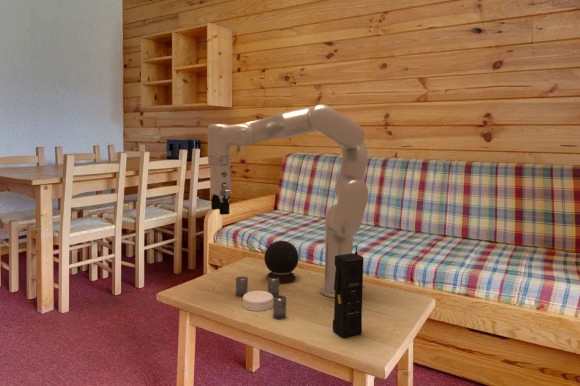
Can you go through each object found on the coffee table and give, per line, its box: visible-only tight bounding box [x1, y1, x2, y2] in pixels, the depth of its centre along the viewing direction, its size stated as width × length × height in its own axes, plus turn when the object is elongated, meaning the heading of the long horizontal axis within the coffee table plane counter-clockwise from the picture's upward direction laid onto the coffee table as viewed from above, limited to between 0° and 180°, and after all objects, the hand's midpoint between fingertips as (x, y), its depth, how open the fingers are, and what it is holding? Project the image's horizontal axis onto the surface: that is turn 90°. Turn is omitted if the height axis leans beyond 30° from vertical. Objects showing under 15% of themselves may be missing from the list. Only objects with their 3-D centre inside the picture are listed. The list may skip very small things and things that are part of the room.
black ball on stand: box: [264, 240, 300, 285], centre depth 173 cm, size 13×13×15 cm
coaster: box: [242, 290, 274, 312], centre depth 148 cm, size 10×10×4 cm
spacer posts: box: [235, 275, 287, 320], centre depth 147 cm, size 17×22×6 cm
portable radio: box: [332, 245, 364, 339], centre depth 127 cm, size 8×6×25 cm
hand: (220, 211), depth 152 cm, fingers open, 9 cm apart
